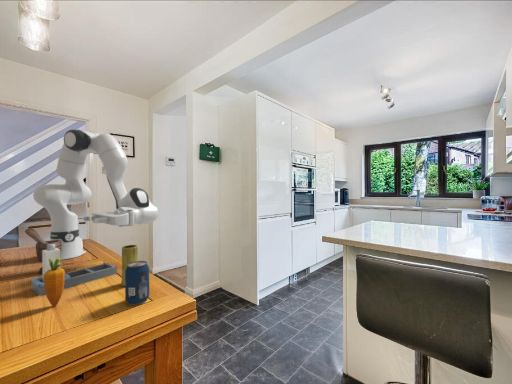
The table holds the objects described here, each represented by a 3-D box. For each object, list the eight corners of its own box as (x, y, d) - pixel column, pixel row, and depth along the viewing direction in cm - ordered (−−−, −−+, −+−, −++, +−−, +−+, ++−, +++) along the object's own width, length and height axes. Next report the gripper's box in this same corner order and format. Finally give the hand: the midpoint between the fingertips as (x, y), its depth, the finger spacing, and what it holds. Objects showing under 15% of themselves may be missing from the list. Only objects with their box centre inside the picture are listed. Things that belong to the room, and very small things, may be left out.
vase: (131, 287, 85) (130, 248, 85) (116, 286, 86) (116, 247, 86) (142, 281, 91) (142, 244, 91) (129, 279, 92) (128, 244, 92)
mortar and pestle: (28, 278, 94) (28, 229, 94) (24, 274, 100) (23, 227, 99) (64, 270, 104) (63, 225, 104) (58, 266, 109) (58, 224, 109)
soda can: (133, 295, 78) (132, 260, 78) (153, 295, 78) (152, 260, 78) (120, 305, 72) (120, 267, 71) (142, 306, 71) (142, 267, 71)
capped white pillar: (42, 288, 84) (42, 244, 84) (56, 285, 88) (56, 242, 88) (46, 291, 82) (45, 246, 82) (60, 287, 86) (60, 244, 85)
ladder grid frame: (30, 289, 84) (30, 279, 84) (106, 269, 105) (106, 261, 105) (38, 295, 79) (38, 284, 79) (116, 273, 99) (116, 264, 99)
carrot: (43, 306, 71) (42, 257, 71) (63, 300, 75) (63, 254, 75) (45, 312, 68) (44, 261, 68) (66, 305, 72) (66, 257, 72)
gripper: (112, 208, 112) (78, 210, 101) (135, 211, 101) (100, 214, 89) (112, 221, 112) (78, 225, 101) (135, 226, 101) (100, 230, 89)
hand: (88, 220), depth 95 cm, fingers open, 8 cm apart
